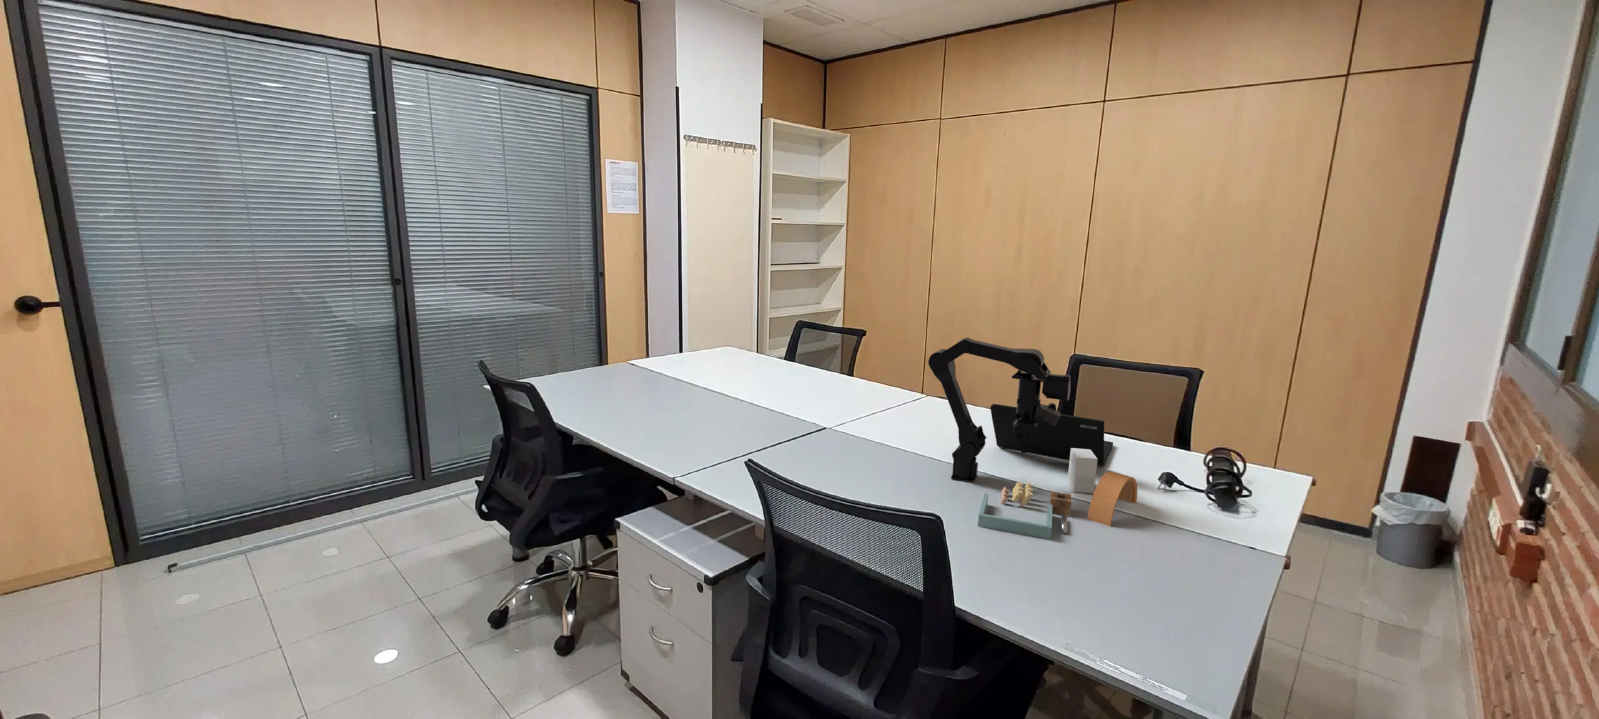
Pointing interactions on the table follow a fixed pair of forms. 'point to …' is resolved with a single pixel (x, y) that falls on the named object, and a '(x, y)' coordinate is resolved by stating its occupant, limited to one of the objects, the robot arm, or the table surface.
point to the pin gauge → (1063, 524)
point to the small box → (1082, 470)
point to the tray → (1015, 523)
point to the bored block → (1060, 503)
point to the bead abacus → (1018, 493)
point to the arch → (1111, 496)
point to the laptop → (1053, 435)
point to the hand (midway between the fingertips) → (1023, 448)
